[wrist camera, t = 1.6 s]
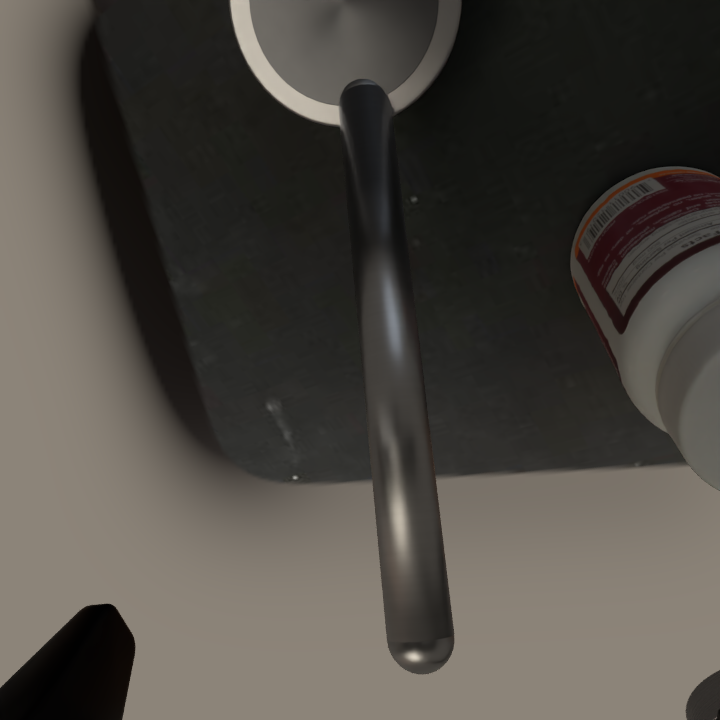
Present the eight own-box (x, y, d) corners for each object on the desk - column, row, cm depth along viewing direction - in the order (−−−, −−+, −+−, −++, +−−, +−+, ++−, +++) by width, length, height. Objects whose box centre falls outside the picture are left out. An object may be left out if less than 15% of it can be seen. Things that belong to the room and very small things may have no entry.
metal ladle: (228, -90, 15) (-104, -222, 6) (440, -152, 14) (463, -431, 5) (351, 381, 21) (289, 696, 12) (506, 359, 20) (573, 681, 11)
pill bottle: (737, 314, 19) (929, 514, 12) (568, 331, 20) (649, 529, 12) (757, 148, 17) (1010, 267, 9) (566, 174, 18) (663, 304, 10)
